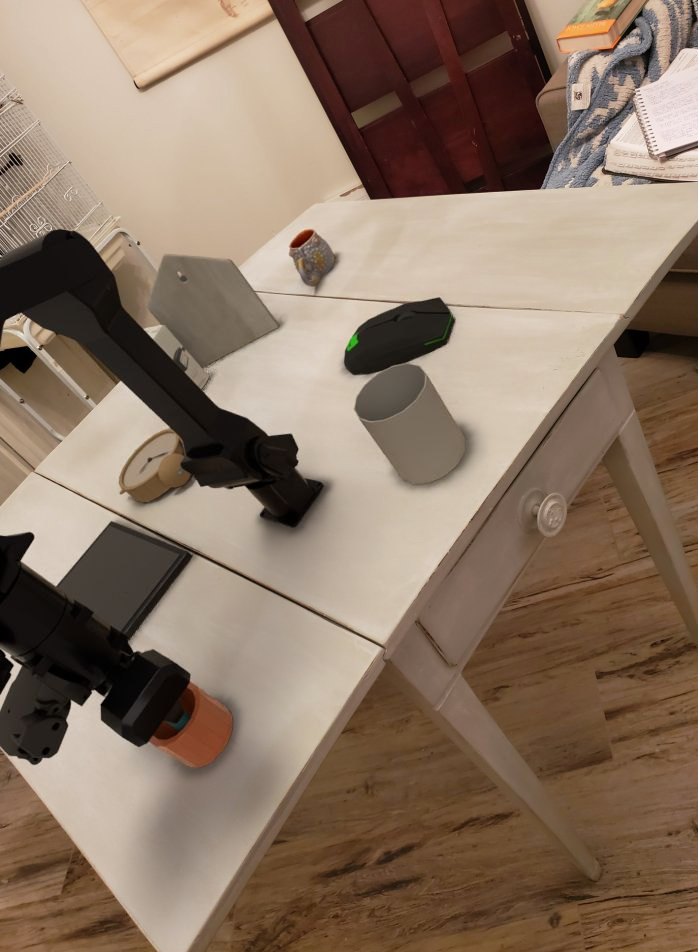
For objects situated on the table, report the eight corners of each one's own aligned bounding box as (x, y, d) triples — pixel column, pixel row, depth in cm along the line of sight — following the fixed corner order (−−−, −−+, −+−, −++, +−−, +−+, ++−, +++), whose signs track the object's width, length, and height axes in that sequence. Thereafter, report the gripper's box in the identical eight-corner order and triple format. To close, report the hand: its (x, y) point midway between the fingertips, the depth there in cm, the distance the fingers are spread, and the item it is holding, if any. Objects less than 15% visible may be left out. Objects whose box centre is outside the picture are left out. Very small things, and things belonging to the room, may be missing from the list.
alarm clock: (135, 441, 110) (199, 405, 102) (160, 460, 112) (224, 427, 104) (105, 498, 102) (171, 464, 94) (133, 517, 105) (199, 486, 97)
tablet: (193, 555, 88) (187, 550, 88) (122, 647, 83) (116, 643, 82) (115, 524, 102) (110, 520, 101) (51, 601, 97) (45, 597, 96)
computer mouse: (349, 337, 106) (335, 317, 103) (452, 294, 100) (440, 271, 98) (344, 386, 98) (329, 365, 95) (456, 342, 92) (443, 318, 90)
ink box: (162, 403, 121) (114, 352, 114) (176, 382, 124) (130, 331, 117) (196, 398, 116) (148, 344, 109) (211, 376, 119) (164, 323, 112)
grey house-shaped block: (280, 303, 125) (212, 208, 113) (279, 327, 119) (208, 229, 107) (203, 345, 129) (130, 257, 117) (198, 369, 123) (121, 280, 111)
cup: (444, 488, 75) (401, 424, 69) (384, 480, 81) (340, 420, 75) (477, 428, 79) (439, 362, 73) (418, 424, 84) (378, 363, 78)
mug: (307, 265, 130) (287, 235, 126) (340, 251, 128) (320, 220, 124) (295, 304, 122) (274, 272, 118) (330, 289, 119) (309, 257, 115)
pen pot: (244, 718, 68) (211, 694, 65) (204, 778, 65) (169, 757, 62) (208, 695, 72) (176, 672, 69) (169, 751, 69) (135, 730, 66)
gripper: (-80, 674, 58) (61, 750, 68) (5, 771, 46) (164, 848, 55) (19, 561, 63) (138, 647, 73) (121, 622, 50) (249, 716, 60)
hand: (167, 709), depth 65 cm, fingers open, 4 cm apart
